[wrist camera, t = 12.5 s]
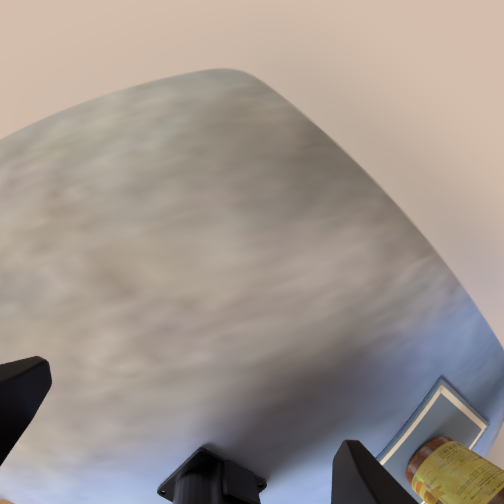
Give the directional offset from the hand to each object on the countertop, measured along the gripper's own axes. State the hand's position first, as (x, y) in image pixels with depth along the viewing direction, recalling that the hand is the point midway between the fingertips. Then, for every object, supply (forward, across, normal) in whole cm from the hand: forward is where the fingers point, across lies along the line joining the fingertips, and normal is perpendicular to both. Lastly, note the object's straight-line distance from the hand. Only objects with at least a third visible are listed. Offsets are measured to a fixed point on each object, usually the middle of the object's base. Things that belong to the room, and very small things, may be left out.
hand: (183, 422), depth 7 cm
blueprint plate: (+12, -22, +14) cm, 29 cm away
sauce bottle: (+12, -22, +14) cm, 28 cm away
